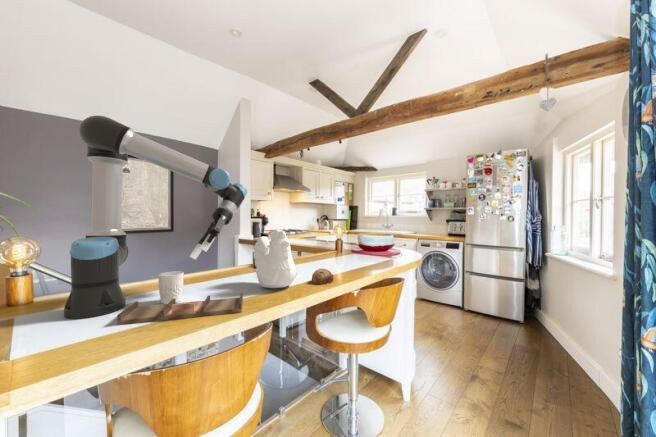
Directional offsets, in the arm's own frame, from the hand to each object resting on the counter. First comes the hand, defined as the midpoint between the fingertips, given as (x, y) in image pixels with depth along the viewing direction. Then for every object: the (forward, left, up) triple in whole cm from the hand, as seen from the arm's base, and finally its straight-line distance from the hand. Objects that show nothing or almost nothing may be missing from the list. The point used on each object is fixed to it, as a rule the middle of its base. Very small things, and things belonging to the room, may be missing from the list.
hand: (197, 254), depth 101 cm
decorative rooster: (+29, +8, -16) cm, 34 cm away
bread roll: (+51, +7, -16) cm, 54 cm away
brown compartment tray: (0, -17, -16) cm, 24 cm away
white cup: (-8, -4, -16) cm, 18 cm away
